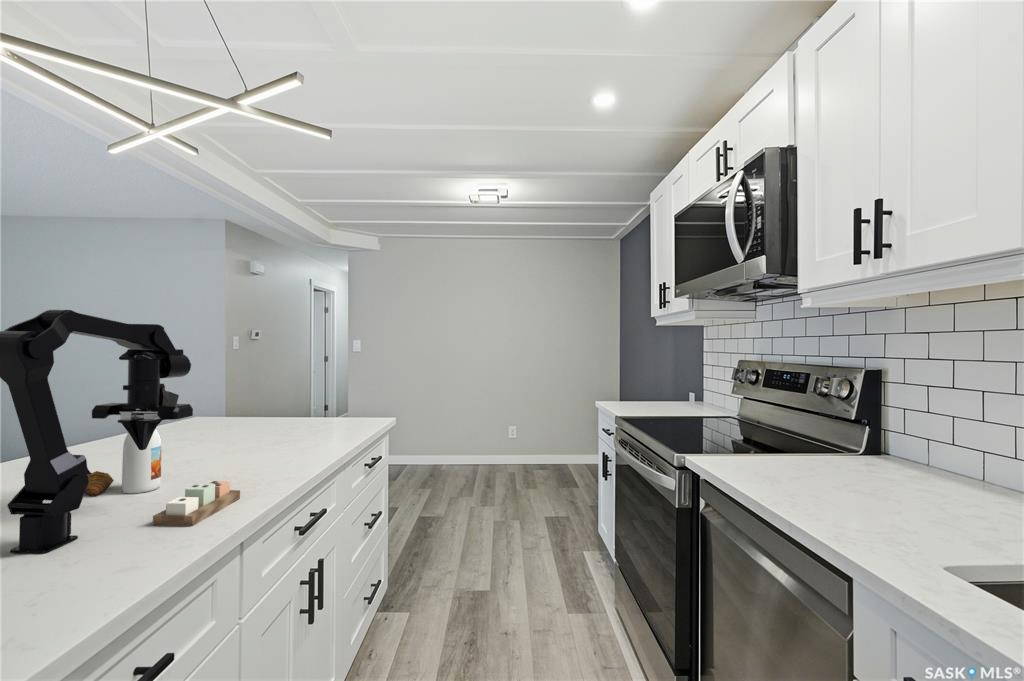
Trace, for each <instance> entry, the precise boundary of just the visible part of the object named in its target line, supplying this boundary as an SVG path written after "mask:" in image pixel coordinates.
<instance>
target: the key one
mask: <svg viewBox="0 0 1024 681" xmlns="http://www.w3.org/2000/svg"><path fill="white" fill-rule="evenodd" d="M197 509H198V497H185V496H179V497H177V498H174V499H173V500H170V501H169V502H166V503H165V510H166V515H187V514H189V513H191V512H193V511H195V510H197Z"/></svg>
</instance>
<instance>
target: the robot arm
mask: <svg viewBox="0 0 1024 681" xmlns="http://www.w3.org/2000/svg"><path fill="white" fill-rule="evenodd" d="M71 334H73V335H80V336H86V337H92V338H97V339H103V340H109V341H112V342H114V343H116V344H117V345H118V346H121V347H123V348H126V349H127V350H126V351H125V352H124V353H123V354H121V355H119V357H118V359H119V361H128V363H127V384H125V385H122V390H123V391H127V396H126V398H127V400H126V402H110V403H102V404H97V405H95V406H94V407H93V408H92V410H91V419H101V420H102V419H103V420H105V419H107V418H108V417H109V416H113V415H115V416H120V419H118V420H117V423H119V424H121V425H122V426H123V428H124V429H125V430H126V431H127V434H128V433H129V434H130V436H131V437H132V439H133V441H134V442H135V444H136V446H137V447H138V449H139V450H145V449H146V448H147V446H148V444H149V442H150V439H151V437H152V435H153V433H154V431H155V429H156V430H157V427H158V426H159V425H160V423H162V422H163V421H166V420H173V421H174V420H181V419H184V418H188V417H193V415H194V409H193V407H192V405H191V404H190V403H178V400H179V396H180V395H179V394H178V393H174V392H172V391H169V390H166V385H165V383H161V379H171V378H182V377H185V376H187V375H188V374H189V373H190V371H191V368H192V363H191V361H190V359H189V357H188V356H187V355H185V354H184V348H183V349H176V348H175V346H174V344H173V342H172V340H171V339H170V337H169V335H168V333H167V332H166V330H165V327H164V326H162V325H160V324H157V323H126V322H121V321H116V320H113V319H109V318H108V319H107V318H104V317H98V316H94V315H90V314H84V313H79V312H76V311H74V310H71V309H47V310H45V311H42V312H41V313H39V314H38V315H36V316H35V317H33V318H30V319H26V320H24V321H23V322H19V323H17V324H14V325H11V326H10V327H8V328H6V329H4V330H0V379H1V380H2V381H3V382H5V383H6V385H7V387H8V389H9V392H10V396H11V399H12V401H13V405H14V408H15V413H16V416H17V420H18V422H19V426H20V429H21V433H22V436H23V438H24V443H25V445H26V448H27V452H28V455H29V461H28V464H27V465H26V466H27V467H26V469H25V471H24V472H23V477H24V486H22V487H21V489H20V490H19V491H18V492H17V494H16V495H14V497H13V498H12V499H11V500H10V501H9V503H7V505H6V506H7V508H8V511H9V513H10V515H12V516H13V515H14V516H15V515H21V516H20V517H19V529H18V530H19V538H18V546H14V547H12V548H10V549H9V553H18V554H19V553H21V554H22V553H23V554H25V553H26V554H28V553H29V554H30V553H32V554H44V553H48V552H51V551H53V550H55V549H57V548H60V547H63V546H64V545H66V544H69V543H71V542H73V541H75V540H77V539H79V535H71V534H72V513H71V512H72V511H76V510H79V508H80V507H81V504H82V502H83V498H84V496H85V490H86V487H87V486H88V483H89V478H88V475H90V474H91V473H92V472H91V471H90V470H89V468H88V462H87V458H86V456H85V455H84V454H72V453H71V452H70V451H69V450H68V448H67V443H66V441H65V438H64V434H63V430H62V424H61V423H60V419H59V415H58V412H57V408H56V404H55V400H54V397H53V394H52V390H51V387H50V386H51V385H50V382H49V376H50V372H51V371H52V368H53V366H54V363H55V356H54V351H56V350H57V349H59V348H60V347H62V346H63V345H65V344H66V342H67V340H68V339H69V336H70V335H71ZM143 415H144V417H143ZM44 501H50V503H49V502H44Z"/></svg>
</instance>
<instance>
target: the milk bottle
mask: <svg viewBox="0 0 1024 681" xmlns="http://www.w3.org/2000/svg"><path fill="white" fill-rule="evenodd" d="M143 417H144V415H143ZM123 441H124V442H123V446H122V462H121V463H122V466H121V471H122V472H121V490H122V492H123V493H124V494H140V493H141V494H142V493H147V492H152V491H154V490H157V489H160V487H161V484H162V440H161V436H160V433H159V431H158V429H157V428H156V429H155V431H154V433H153V435H152V437H151V439H150V442H149V444H148V446H147V448H146V449H145V450H139V449H138V447H137V446H136V444H135V442H134V441H133V439H132V437H131V436H130V434H129V433H128V432H127V434H126V436H125V439H124V440H123Z"/></svg>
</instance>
